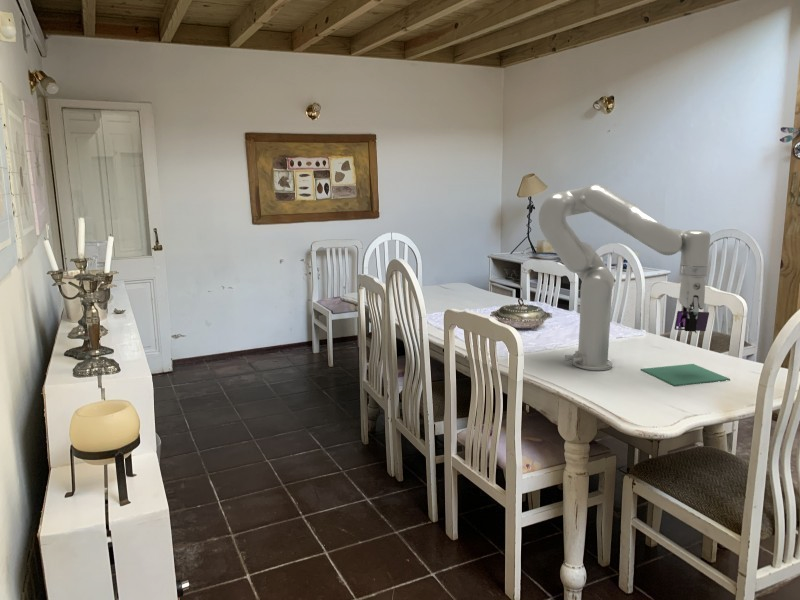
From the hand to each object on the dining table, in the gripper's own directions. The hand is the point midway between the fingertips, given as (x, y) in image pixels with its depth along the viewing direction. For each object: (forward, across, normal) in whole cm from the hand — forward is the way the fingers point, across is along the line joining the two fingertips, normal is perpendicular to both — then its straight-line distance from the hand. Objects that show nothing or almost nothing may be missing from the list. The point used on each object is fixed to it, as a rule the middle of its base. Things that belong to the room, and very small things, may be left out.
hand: (687, 328), depth 186 cm
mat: (+15, 0, 0) cm, 15 cm away
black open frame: (+1, 0, -1) cm, 2 cm away
